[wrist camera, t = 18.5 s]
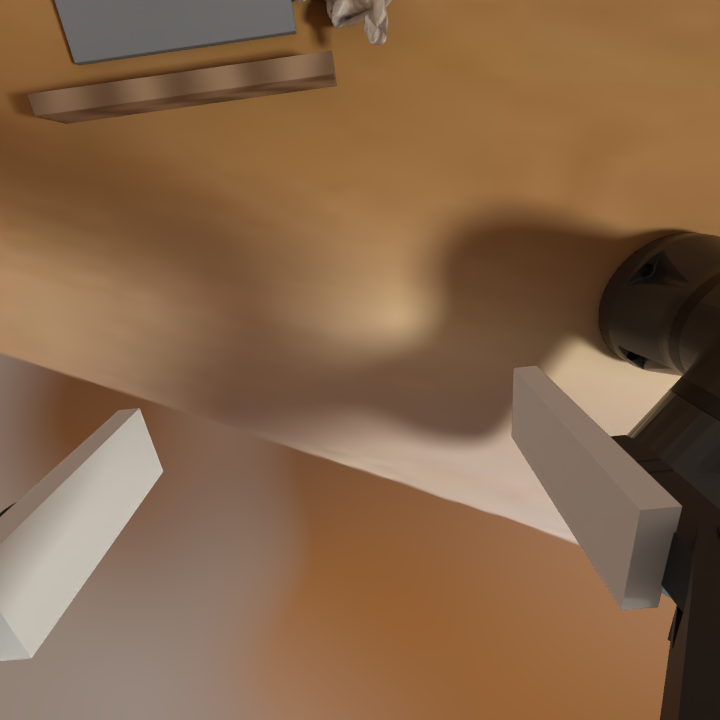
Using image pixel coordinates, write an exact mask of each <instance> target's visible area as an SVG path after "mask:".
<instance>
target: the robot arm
mask: <svg viewBox="0 0 720 720" xmlns="http://www.w3.org/2000/svg"><path fill="white" fill-rule="evenodd" d="M599 325H600V331H601V334H602V337H603V339H604V341H605V343H606V344H607V346H608V347H609V348H610V350H611V351H612V352H613V353H615V354H616V355H617V356H618V357H620V358H622V359H623V360H625V361H627V362H628V363H630V364H631V365H633V366H635V367H638V368H641V369H644V370H647V371H652V372H659V373H665V374H672V375H679V376H682V377H681V378H680V379H679V380H678V381H677V382H676V383H675V385H674V386H673V387H672V388H671V389H670V390H669V391H668V392H667V393H666V394H665V395H664V396H663V397H662V398H661V399H660V401H659V402H658V403H657V404H656V405H655V406H654V407H653V408H652V409H651V410H650V411H649V412H648V413H647V414H646V415H645V417H644V418H643V419H642V420H641V421H640V422H639V423H638V424H637V425H636V426H635V427H634V428H633V429H632V430H631V431H630V432H629V434H628V435H621V436H611V437H610V436H609V435H608V434H607V433H606V432H605V431H604V430H603V429H602V428H601V427H600V426H599V425H598V424H597V423H595V422H594V421H593V420H592V419H591V418H590V417H589V416H588V415H587V414H586V413H585V412H584V411H583V410H582V409H581V408H580V407H579V406H578V405H577V404H576V403H575V402H574V401H573V400H572V399H571V398H570V397H569V396H567V395H566V394H565V393H564V392H563V391H562V390H561V389H560V388H559V387H558V386H557V385H556V384H555V383H554V382H553V381H552V380H551V379H550V378H549V377H548V376H547V375H546V374H545V373H544V372H543V371H542V370H541V369H539V368H538V367H537V366H527V367H518V368H514V372H513V403H512V435H511V436H512V438H513V440H514V441H515V443H516V444H517V446H518V448H519V449H520V451H521V452H522V454H523V456H524V457H525V459H526V460H527V462H528V463H529V465H530V467H531V468H532V470H533V471H534V473H535V475H536V476H537V478H538V479H539V481H540V482H541V484H542V486H543V487H544V489H545V490H546V492H547V494H548V495H549V497H550V498H551V500H552V501H553V503H554V505H555V506H556V508H557V509H558V511H559V513H560V514H561V516H562V517H563V519H564V520H565V522H566V524H567V525H568V527H569V528H570V530H571V532H572V533H573V535H574V536H575V538H576V540H577V541H578V543H579V544H580V546H581V547H582V549H583V550H584V552H585V554H586V555H587V557H588V559H589V560H590V562H591V563H592V565H593V566H594V568H595V570H596V571H597V573H598V574H599V576H600V577H601V579H602V581H603V582H604V584H605V586H606V587H607V588H608V590H609V592H610V593H611V595H612V597H613V598H614V600H615V601H616V603H617V605H618V606H619V608H620V609H621V610H630V609H642V608H655V607H658V604H659V600H660V596H661V592H662V593H663V594H665V595H666V596H668V597H670V598H671V599H673V601H674V602H675V603H676V604H677V607H676V610H675V614H674V617H673V622H672V625H671V629H670V632H669V636H668V640H669V641H671V642H670V649H669V656H668V664H667V671H666V679H665V686H664V693H663V700H662V708H661V715H660V720H720V237H719V236H715V235H708V234H699V233H679V234H674V235H669V236H666V237H663V238H660V239H658V240H655V241H653V242H651V243H649V244H647V245H646V246H644V247H642V248H641V249H639V250H638V251H637V252H635V253H634V254H633V255H632V256H630V257H629V258H628V259H627V260H626V261H625V262H624V263H623V264H622V265H621V266H620V267H619V269H618V270H617V271H616V272H615V274H614V275H613V277H612V278H611V280H610V282H609V283H608V285H607V287H606V289H605V292H604V294H603V297H602V300H601V304H600V310H599ZM162 472H163V470H162V467H161V465H160V462H159V459H158V456H157V454H156V451H155V448H154V446H153V443H152V440H151V438H150V435H149V432H148V430H147V427H146V425H145V422H144V419H143V416H142V414H141V411H140V409H139V408H137V409H127V410H118V411H117V412H116V413H115V414H114V415H113V416H112V417H111V418H110V419H109V420H108V421H106V422H105V423H104V424H103V425H102V426H101V427H100V428H99V429H97V430H96V431H95V432H94V433H93V434H92V435H91V436H90V437H89V438H88V439H86V440H85V441H84V442H83V443H82V444H81V445H80V446H79V447H77V448H76V449H75V450H74V451H73V452H72V453H71V454H70V455H69V456H67V457H66V458H65V459H64V460H63V461H62V462H61V463H60V464H59V465H57V466H56V468H54V469H53V470H52V471H51V472H50V473H49V474H48V475H47V476H45V477H44V478H43V479H42V480H41V481H40V482H39V483H37V484H36V485H35V486H34V487H33V488H32V489H31V490H30V491H29V492H27V493H26V494H25V495H24V496H23V497H22V498H21V499H20V500H19V501H17V502H16V503H14V504H12V505H11V506H9V507H8V508H6V509H5V510H4V511H2V512H1V513H0V661H4V660H16V659H29V658H32V656H33V655H34V654H35V652H36V651H37V650H38V648H39V647H40V645H41V644H42V642H43V641H44V640H45V638H46V637H47V635H48V634H49V632H50V631H51V630H52V628H53V627H54V626H55V624H56V623H57V621H58V620H59V618H60V617H61V616H62V614H63V612H64V611H65V610H66V608H67V607H68V606H69V604H70V603H71V601H72V600H73V599H74V597H75V596H76V594H77V593H78V591H79V590H80V589H81V587H82V586H83V584H84V583H85V581H86V580H87V579H88V577H89V576H90V574H91V573H92V572H93V570H94V568H95V567H96V566H97V565H98V563H99V562H100V560H101V559H102V557H103V556H104V554H105V553H106V552H107V550H108V549H109V547H110V546H111V545H112V543H113V542H114V540H115V539H116V538H117V536H118V535H119V533H120V532H121V530H122V529H123V528H124V526H125V525H126V523H127V522H128V520H129V519H130V518H131V516H132V515H133V513H134V512H135V511H136V509H137V508H138V506H139V505H140V504H141V502H142V501H143V499H144V498H145V496H146V495H147V494H148V492H149V491H150V489H151V488H152V486H153V485H154V484H155V482H156V481H157V479H158V478H159V476H160V475H161V474H162Z"/></svg>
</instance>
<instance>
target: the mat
mask: <svg viewBox="0 0 720 720" xmlns="http://www.w3.org/2000/svg"><path fill="white" fill-rule="evenodd" d="M55 3H56V6H57V9H58V12H59V15H60V18H61V21H62V25H63V28H64V31H65V34H66V37H67V40H68V43H69V46H70V49H71V52H72V56H73V59H74V62H75V63H76V64H78V65H83V64H90V63H97V62H104V61H111V60H117V59H124V58H131V57H138V56H145V55H152V54H159V53H166V52H172V51H179V50H186V49H193V48H200V47H207V46H214V45H221V44H227V43H234V42H241V41H248V40H255V39H262V38H269V37H276V36H282V35H289V34H296V28H295V21H294V14H293V7H292V0H55Z"/></svg>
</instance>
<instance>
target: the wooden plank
mask: <svg viewBox="0 0 720 720" xmlns="http://www.w3.org/2000/svg"><path fill="white" fill-rule="evenodd" d="M332 86H337V85H336V77H335V68H334V62H333V57H332V51H325V52H318V53H311V54H304V55H297V56H290V57H283V58H276V59H269V60H262V61H255V62H248V63H241V64H234V65H227V66H220V67H213V68H206V69H199V70H192V71H185V72H178V73H171V74H164V75H157V76H150V77H143V78H136V79H129V80H122V81H115V82H108V83H101V84H94V85H88V86H81V87H74V88H67V89H60V90H53V91H46V92H39V93H32V94H27V96H28V99H29V101H30V104H31V107H32V110H33V112H34V115H35V116H37V117H41V118H45V119H50V120H54V121H58V122H62V123H73V122H81V121H88V120H95V119H102V118H109V117H117V116H124V115H131V114H138V113H145V112H152V111H160V110H167V109H174V108H181V107H188V106H195V105H203V104H210V103H217V102H224V101H231V100H239V99H246V98H253V97H260V96H267V95H274V94H282V93H289V92H296V91H303V90H310V89H318V88H325V87H332Z"/></svg>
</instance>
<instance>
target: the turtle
mask: <svg viewBox="0 0 720 720" xmlns="http://www.w3.org/2000/svg"><path fill="white" fill-rule="evenodd" d="M293 1H296V2H297V4H298V3H299V2H300V1H301V0H293ZM303 1H306V0H303ZM325 1H326V4H327V12H328V16H329V18H330V19H331V20H332V23H333V25H334V26H335V28H336V29H337V28H339V27H345V26H352V25H357V24H359V23H361V22H363V21H364V20H365V22H364V31H365V33H366V35H367V36H368V38H369V41H370V43H371V44H372V45H380V44H383V43H384V42H385V41H386V33H387V24H388V17H387V12H386V7H387V6H388V5H389V3H390V2H391V1H392V0H324V2H325Z"/></svg>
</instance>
